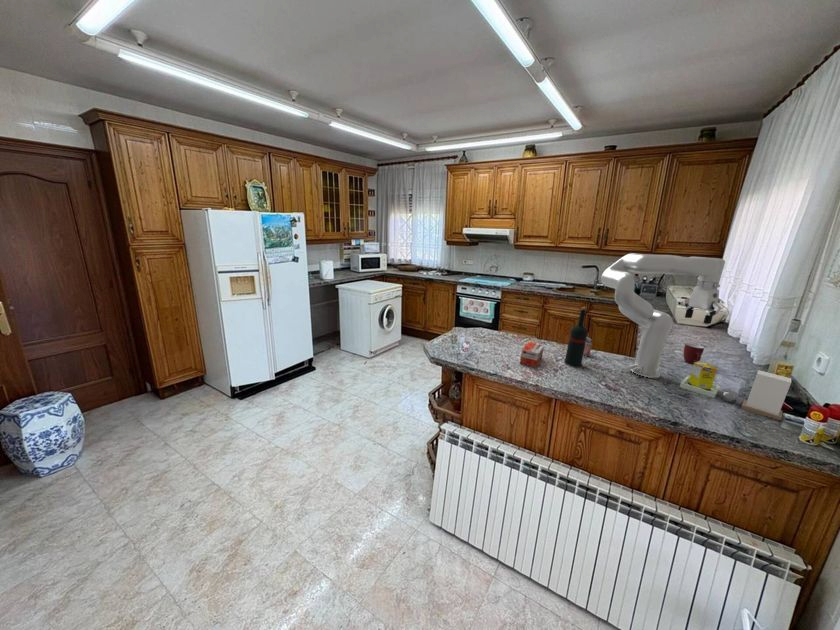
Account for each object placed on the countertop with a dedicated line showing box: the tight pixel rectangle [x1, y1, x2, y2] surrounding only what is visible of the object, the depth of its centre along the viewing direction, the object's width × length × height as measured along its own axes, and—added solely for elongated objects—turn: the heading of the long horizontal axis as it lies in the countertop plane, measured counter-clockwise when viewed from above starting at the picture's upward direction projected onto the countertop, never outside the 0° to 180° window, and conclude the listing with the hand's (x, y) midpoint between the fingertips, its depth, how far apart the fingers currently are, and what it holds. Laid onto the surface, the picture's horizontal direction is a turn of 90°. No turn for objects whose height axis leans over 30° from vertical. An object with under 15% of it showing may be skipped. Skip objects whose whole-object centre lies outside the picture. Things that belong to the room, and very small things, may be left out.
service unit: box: [740, 369, 792, 421], centre depth 127 cm, size 8×11×16 cm
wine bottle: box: [564, 306, 588, 368], centre depth 164 cm, size 8×10×30 cm
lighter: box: [583, 337, 593, 357], centre depth 179 cm, size 8×3×10 cm, turn 5°
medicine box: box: [519, 341, 545, 368], centre depth 166 cm, size 15×8×8 cm, turn 149°
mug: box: [683, 342, 705, 365], centre depth 175 cm, size 10×8×10 cm
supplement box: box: [688, 361, 718, 391], centre depth 145 cm, size 6×6×11 cm
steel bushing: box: [719, 389, 739, 405], centre depth 136 cm, size 5×5×4 cm
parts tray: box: [679, 376, 720, 399], centre depth 146 cm, size 12×12×2 cm
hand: (697, 320), depth 153 cm, fingers open, 9 cm apart
